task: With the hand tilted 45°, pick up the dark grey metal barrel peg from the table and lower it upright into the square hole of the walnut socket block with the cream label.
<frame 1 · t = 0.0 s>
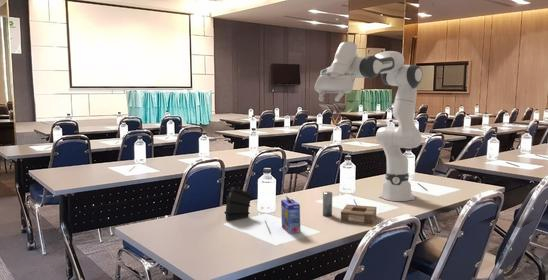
hand: (328, 100, 203), 54 cm above the table, tool tilted 30°, fingers open, 8 cm apart
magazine: (239, 218, 212), on the table
socket block: (358, 218, 209), on the table
ink cartridge box: (290, 230, 194), on the table
barrel peg: (327, 215, 215), on the table
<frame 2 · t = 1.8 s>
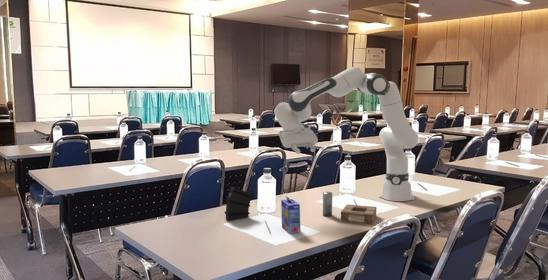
hand: (306, 152, 218), 29 cm above the table, tool tilted 45°, fingers open, 8 cm apart
nothing on the table moved.
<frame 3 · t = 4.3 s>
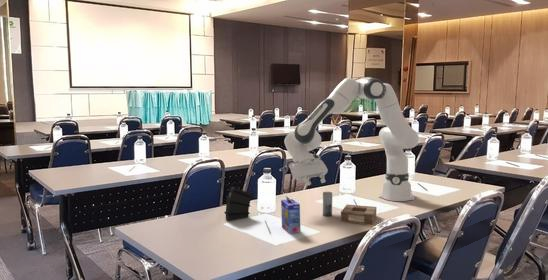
hand: (316, 183, 219), 14 cm above the table, tool tilted 45°, fingers open, 8 cm apart
nothing on the table moved.
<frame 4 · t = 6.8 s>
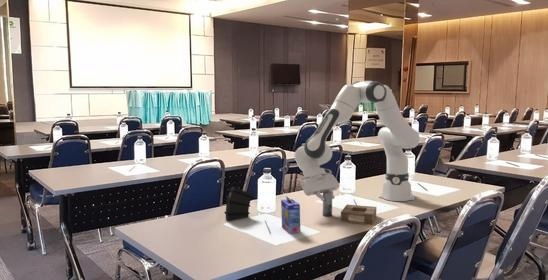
hand: (328, 199, 213), 8 cm above the table, tool tilted 45°, fingers closed on barrel peg, 4 cm apart
barrel peg: (327, 215, 215), on the table, touching gripper
everything else where it was.
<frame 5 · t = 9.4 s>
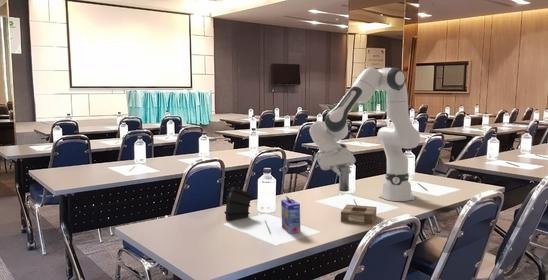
hand: (345, 173, 209), 21 cm above the table, tool tilted 45°, fingers closed on barrel peg, 4 cm apart
barrel peg: (344, 190, 211), point 13 cm above the table, touching gripper
everything else where it was.
when the fingers open (10 cm above the table, at t = 12.4 s): barrel peg drops 2 cm, resting in socket block.
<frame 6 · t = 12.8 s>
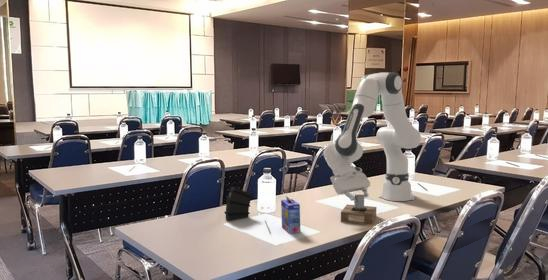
hand: (360, 198, 207), 10 cm above the table, tool tilted 45°, fingers open, 8 cm apart
barrel peg: (359, 219, 209), resting in socket block
everything else where it was.
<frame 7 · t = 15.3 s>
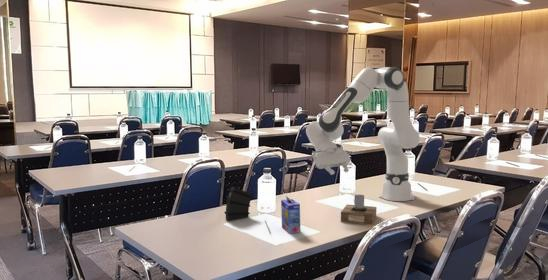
hand: (340, 172, 216), 20 cm above the table, tool tilted 45°, fingers open, 8 cm apart
nothing on the table moved.
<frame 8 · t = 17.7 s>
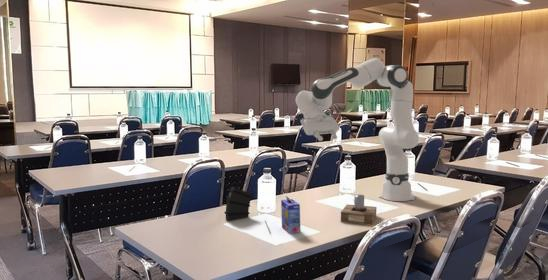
hand: (328, 139, 218), 35 cm above the table, tool tilted 45°, fingers open, 8 cm apart
nothing on the table moved.
at the end: barrel peg 0.1 cm off-centre on the socket block, point 0.0 cm above the socket block's base; barrel peg tilted 0°; the gripper is holding nothing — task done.
